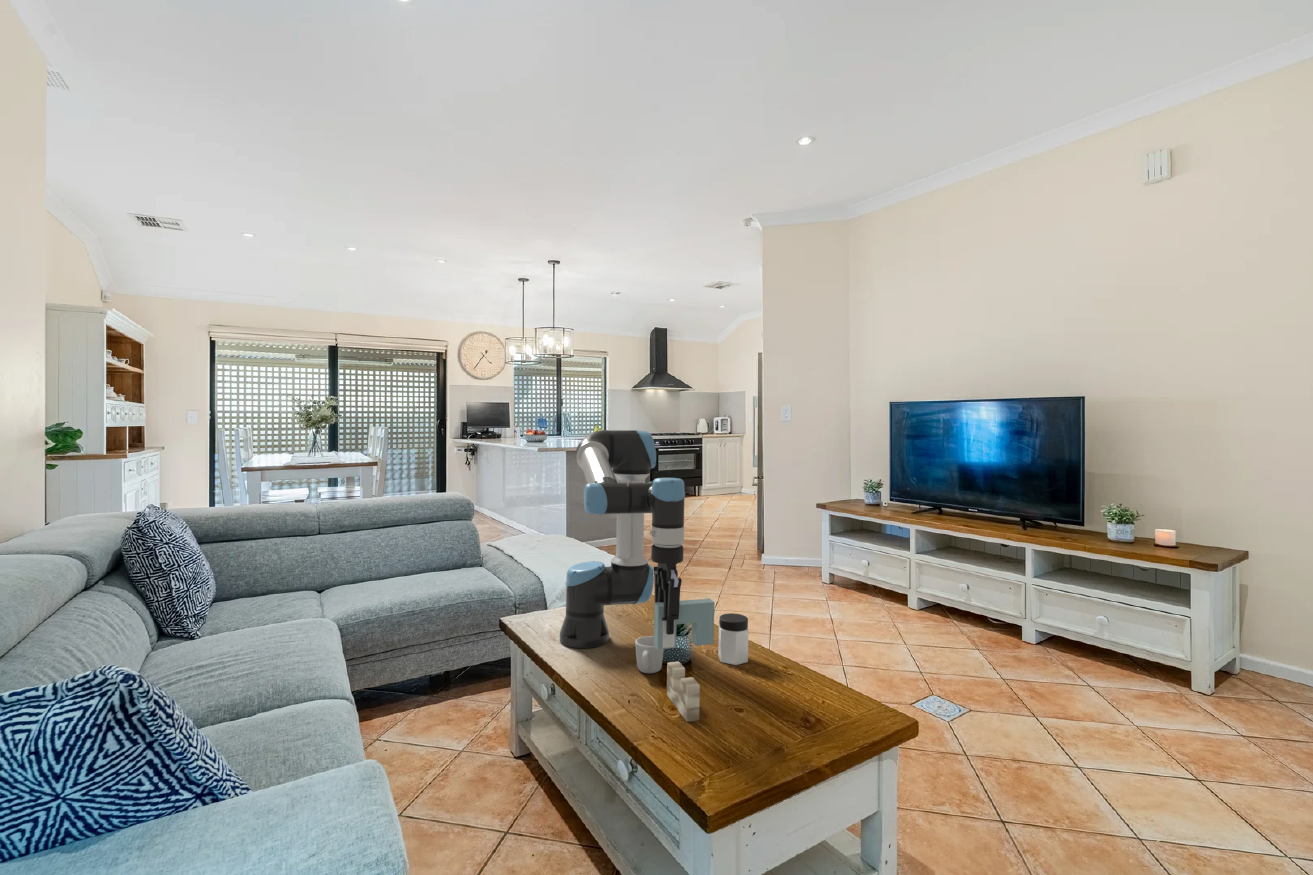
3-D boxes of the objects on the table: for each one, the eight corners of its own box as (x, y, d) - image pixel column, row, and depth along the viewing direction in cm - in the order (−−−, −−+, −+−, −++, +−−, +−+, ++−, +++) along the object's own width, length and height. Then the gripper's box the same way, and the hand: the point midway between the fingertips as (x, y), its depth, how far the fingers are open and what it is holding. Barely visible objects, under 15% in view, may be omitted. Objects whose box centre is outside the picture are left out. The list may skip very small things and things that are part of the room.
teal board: (653, 644, 141) (654, 602, 141) (708, 639, 145) (709, 598, 145) (657, 649, 138) (658, 606, 138) (713, 643, 143) (714, 601, 142)
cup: (658, 682, 156) (659, 651, 156) (629, 678, 157) (629, 648, 157) (666, 665, 166) (666, 637, 166) (638, 662, 168) (639, 634, 168)
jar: (716, 652, 176) (717, 612, 176) (744, 653, 176) (744, 612, 176) (720, 665, 167) (721, 622, 167) (749, 665, 167) (750, 623, 167)
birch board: (666, 694, 149) (667, 662, 148) (678, 692, 150) (678, 661, 149) (686, 721, 135) (687, 686, 135) (699, 719, 136) (699, 685, 136)
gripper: (642, 538, 146) (640, 633, 147) (663, 552, 131) (661, 658, 132) (671, 537, 149) (669, 631, 149) (695, 550, 133) (693, 655, 134)
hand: (665, 643), depth 140 cm, fingers closed on teal board, 3 cm apart
